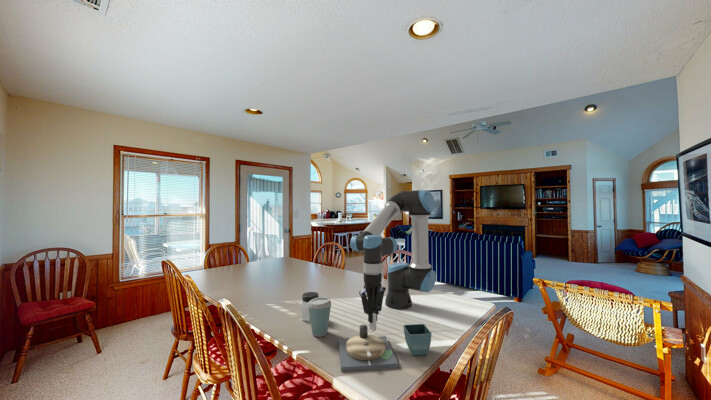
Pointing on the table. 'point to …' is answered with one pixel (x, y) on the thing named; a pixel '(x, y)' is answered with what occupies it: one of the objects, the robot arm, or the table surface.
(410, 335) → the flower pot
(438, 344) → the table surface
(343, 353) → the tuner base
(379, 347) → the dial
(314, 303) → the disposable coffee cup
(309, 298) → the jar
